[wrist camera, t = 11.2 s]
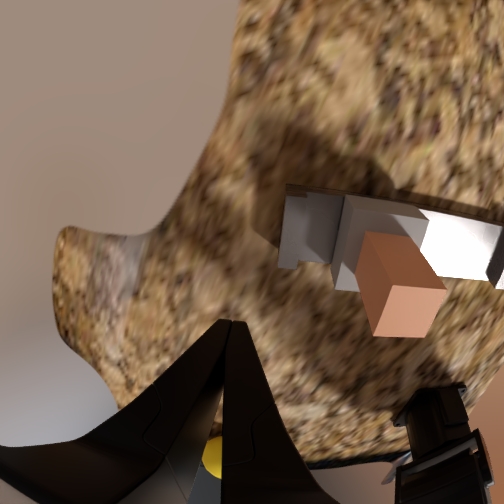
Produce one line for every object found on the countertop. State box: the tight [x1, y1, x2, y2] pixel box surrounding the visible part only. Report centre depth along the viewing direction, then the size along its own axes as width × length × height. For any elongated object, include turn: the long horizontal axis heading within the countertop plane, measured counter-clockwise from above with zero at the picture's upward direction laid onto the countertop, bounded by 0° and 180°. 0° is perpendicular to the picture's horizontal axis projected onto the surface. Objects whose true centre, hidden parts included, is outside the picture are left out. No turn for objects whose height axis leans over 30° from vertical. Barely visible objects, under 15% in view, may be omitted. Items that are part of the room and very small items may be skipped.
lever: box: [330, 194, 447, 338], centre depth 13 cm, size 4×4×6 cm
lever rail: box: [278, 184, 504, 289], centre depth 16 cm, size 4×16×2 cm, turn 86°
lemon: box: [202, 436, 222, 478], centre depth 28 cm, size 7×5×5 cm
